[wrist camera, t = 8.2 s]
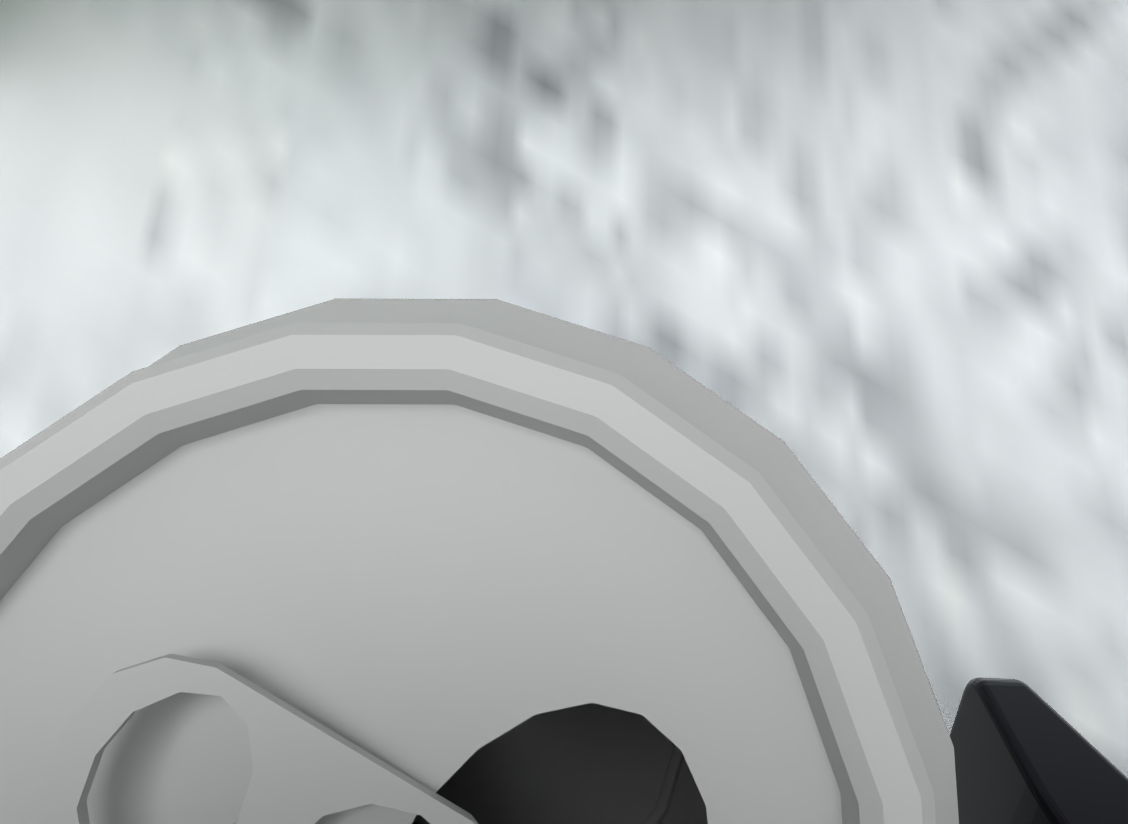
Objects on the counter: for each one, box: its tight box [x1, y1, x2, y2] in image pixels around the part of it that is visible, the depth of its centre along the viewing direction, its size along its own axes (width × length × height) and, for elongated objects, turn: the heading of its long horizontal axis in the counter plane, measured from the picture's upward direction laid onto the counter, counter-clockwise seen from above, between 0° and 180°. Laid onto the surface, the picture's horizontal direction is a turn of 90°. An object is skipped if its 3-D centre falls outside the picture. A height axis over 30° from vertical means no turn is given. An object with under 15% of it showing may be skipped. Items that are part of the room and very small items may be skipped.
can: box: [0, 299, 959, 824], centre depth 11 cm, size 8×8×12 cm
